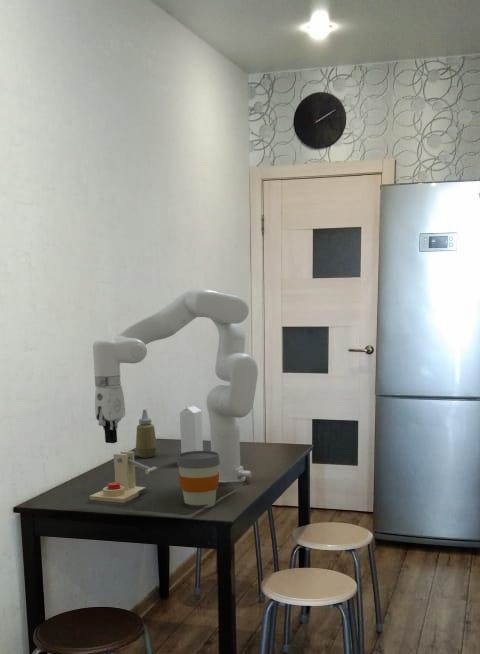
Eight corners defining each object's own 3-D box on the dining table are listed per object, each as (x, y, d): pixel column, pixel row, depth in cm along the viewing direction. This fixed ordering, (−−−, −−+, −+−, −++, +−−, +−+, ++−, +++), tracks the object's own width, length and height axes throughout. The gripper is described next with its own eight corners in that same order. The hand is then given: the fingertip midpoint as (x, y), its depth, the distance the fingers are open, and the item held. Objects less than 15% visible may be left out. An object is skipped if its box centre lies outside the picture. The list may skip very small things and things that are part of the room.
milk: (203, 461, 312) (201, 402, 308) (196, 464, 307) (194, 404, 303) (188, 460, 315) (186, 401, 311) (181, 463, 309) (179, 403, 305)
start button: (122, 488, 259) (121, 482, 259) (115, 491, 256) (115, 485, 255) (112, 487, 260) (111, 481, 260) (105, 490, 257) (105, 484, 257)
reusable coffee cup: (226, 507, 247) (224, 457, 245) (184, 511, 244) (181, 460, 241) (215, 497, 259) (213, 449, 257) (174, 501, 256) (172, 452, 253)
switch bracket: (146, 490, 270) (144, 451, 268) (133, 496, 263) (131, 456, 260) (119, 488, 274) (116, 449, 272) (105, 494, 267) (103, 454, 264)
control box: (139, 498, 260) (138, 486, 260) (123, 506, 252) (123, 492, 251) (105, 495, 265) (105, 483, 264) (89, 502, 257) (88, 490, 256)
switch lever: (156, 473, 266) (157, 466, 265) (148, 476, 261) (150, 469, 260) (123, 458, 269) (125, 451, 269) (115, 462, 265) (117, 455, 264)
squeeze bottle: (161, 455, 325) (159, 408, 322) (148, 459, 318) (146, 411, 315) (145, 453, 329) (143, 407, 326) (131, 457, 323) (129, 410, 319)
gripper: (105, 385, 244) (108, 447, 247) (131, 379, 257) (134, 438, 261) (82, 384, 247) (86, 446, 250) (110, 378, 260) (113, 437, 264)
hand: (111, 442), depth 255 cm, fingers closed
